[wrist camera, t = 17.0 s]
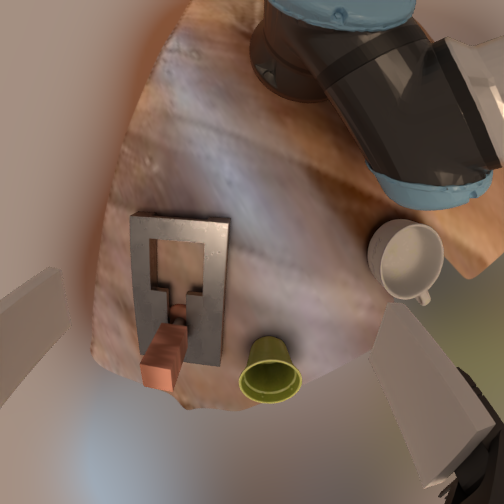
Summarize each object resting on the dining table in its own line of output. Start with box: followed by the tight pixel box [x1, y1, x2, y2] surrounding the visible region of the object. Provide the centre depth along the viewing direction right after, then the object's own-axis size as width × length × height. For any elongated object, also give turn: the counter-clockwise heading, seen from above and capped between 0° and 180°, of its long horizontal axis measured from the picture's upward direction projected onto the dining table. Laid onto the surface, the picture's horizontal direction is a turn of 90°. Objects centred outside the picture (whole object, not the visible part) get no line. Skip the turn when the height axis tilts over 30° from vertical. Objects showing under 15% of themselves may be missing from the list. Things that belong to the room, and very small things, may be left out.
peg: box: [140, 304, 188, 392], centre depth 40 cm, size 6×6×15 cm
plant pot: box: [239, 336, 302, 403], centre depth 44 cm, size 9×9×9 cm
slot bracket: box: [130, 211, 231, 367], centre depth 44 cm, size 14×24×3 cm, turn 175°
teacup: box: [367, 219, 444, 306], centre depth 39 cm, size 14×11×8 cm
